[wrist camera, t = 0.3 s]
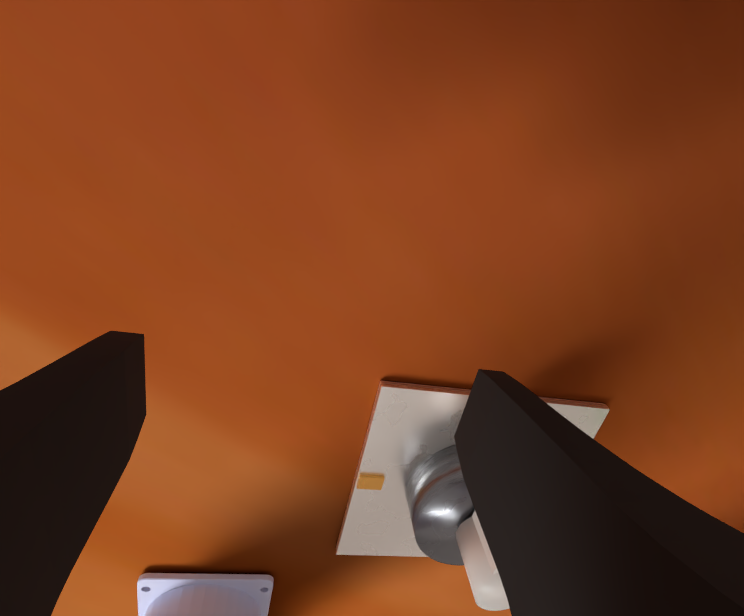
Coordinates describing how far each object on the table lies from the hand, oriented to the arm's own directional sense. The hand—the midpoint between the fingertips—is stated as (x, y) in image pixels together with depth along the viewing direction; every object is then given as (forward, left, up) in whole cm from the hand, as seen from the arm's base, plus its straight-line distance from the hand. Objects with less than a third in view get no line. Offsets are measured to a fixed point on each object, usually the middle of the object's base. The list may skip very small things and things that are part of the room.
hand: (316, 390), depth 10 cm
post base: (-13, -11, -10) cm, 20 cm away
